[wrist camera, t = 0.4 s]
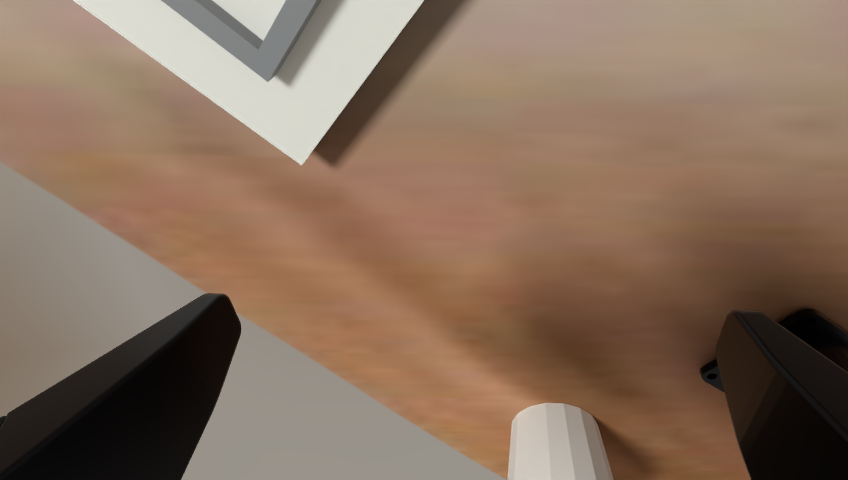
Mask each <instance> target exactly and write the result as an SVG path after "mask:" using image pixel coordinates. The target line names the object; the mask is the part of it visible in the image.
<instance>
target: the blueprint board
mask: <svg viewBox="0 0 848 480" xmlns="http://www.w3.org/2000/svg"><path fill="white" fill-rule="evenodd" d="M73 1H75V2H76V3H77V4H79V5H80V6H82V7H83V8H84V9H86V10H87V11H89V12H90V13H91V14H93V15H94V16H95V17H97V18H98V19H100V20H101V21H102V22H104V23H105V24H107V25H108V26H109V27H111V28H112V29H113V30H115V31H116V32H118V33H119V34H120V35H122V36H123V37H125V38H126V39H127V40H129V41H130V42H131V43H133V44H134V45H136V46H137V47H138V48H140V49H141V50H143V51H144V52H145V53H147V54H148V55H149V56H151V57H152V58H154V59H155V60H156V61H158V62H159V63H161V64H162V65H163V66H165V67H166V68H167V69H169V70H170V71H172V72H173V73H174V74H176V75H177V76H179V77H180V78H181V79H183V80H184V81H185V82H187V83H188V84H190V85H191V86H192V87H194V88H195V89H197V90H198V91H199V92H201V93H202V94H203V95H205V96H206V97H208V98H209V99H210V100H212V101H213V102H215V103H216V104H217V105H219V106H220V107H221V108H223V109H224V110H226V111H227V112H228V113H230V114H231V115H233V116H234V117H235V118H237V119H238V120H239V121H241V122H242V123H244V124H245V125H246V126H248V127H249V128H251V129H252V130H253V131H255V132H256V133H257V134H259V135H260V136H262V137H263V138H264V139H266V140H267V141H268V142H270V143H271V144H273V145H274V146H275V147H277V148H278V149H280V150H281V151H282V152H284V153H285V154H286V155H288V156H289V157H291V158H292V159H293V160H295V161H296V162H298V163H299V164H300V165H302V164H303V163H304V162H305V160H306V159H307V158H308V156H309V155H310V154H311V152H312V151H313V150H314V148H315V147H316V146H317V144H318V143H319V141H320V140H321V139H322V137H323V136H324V135H325V133H326V132H327V131H328V129H329V128H330V127H331V125H332V124H333V123H334V121H335V120H336V119H337V117H338V116H339V115H340V113H341V112H342V110H343V109H344V108H345V106H346V105H347V104H348V102H349V101H350V100H351V98H352V97H353V96H354V94H355V93H356V92H357V90H358V89H359V88H360V86H361V85H362V83H363V82H364V81H365V79H366V78H367V77H368V75H369V74H370V73H371V71H372V70H373V69H374V67H375V66H376V65H377V63H378V62H379V61H380V59H381V58H382V57H383V55H384V54H385V52H386V51H387V50H388V48H389V47H390V46H391V44H392V43H393V42H394V40H395V39H396V38H397V36H398V35H399V34H400V32H401V31H402V30H403V28H404V27H405V25H406V24H407V23H408V21H409V20H410V19H411V17H412V16H413V15H414V13H415V12H416V11H417V9H418V8H419V7H420V5H421V4H422V3H423V1H424V0H73Z"/></svg>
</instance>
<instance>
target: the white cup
mask: <svg viewBox="0 0 848 480" xmlns="http://www.w3.org/2000/svg"><path fill="white" fill-rule="evenodd" d="M508 480H614V479H613V476H612V472H611V469H610V465H609V462H608V458H607V455H606V452H605V448H604V445H603V441H602V438H601V434H600V431H599V427H598V424H597V423H596V421H595V419H594V418H593V416H592V415H591V414H589V413H588V412H586V411H584V410H583V409H581V408H579V407H575V406H572V405H568V404H564V403H543V404H539V405H534V406H530V407H528V408H526V409H524V410H523V411H521V412H519V413H518V414H517V415H516V417H515V418H514V420H513V421H512V429H511V442H510V455H509V467H508Z"/></svg>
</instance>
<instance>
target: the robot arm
mask: <svg viewBox="0 0 848 480" xmlns="http://www.w3.org/2000/svg"><path fill="white" fill-rule="evenodd" d="M240 334H241V323H240V321H239V318H238V316H237V314H236V312H235V309H234V307H233V305H232V303H231V301H230V299H229V297H228V296H227V295H225V294H214V293H208V294H204V295H202V296H200V297H198V298H197V299H195V300H193V301H192V302H191V303H188V304H187V305H185V306H184V307H182V308H180V309H179V310H177V311H175V312H174V313H172V314H170V315H169V316H167V317H165V318H164V319H162V320H160V321H159V322H157V323H156V324H154V325H152V326H151V327H149V328H147V329H146V330H144V331H142V332H141V333H139V334H137V335H136V336H134V337H133V338H131V339H129V340H128V341H126V342H124V343H123V344H121V345H119V346H118V347H116V348H114V349H113V350H111V351H109V352H108V353H106V354H104V355H103V356H101V357H100V358H98V359H96V360H95V361H93V362H91V363H90V364H88V365H86V366H85V367H83V368H81V369H80V370H78V371H76V372H75V373H73V374H72V375H70V376H68V377H67V378H65V379H63V380H62V381H60V382H58V383H57V384H55V385H53V386H52V387H50V388H48V389H47V390H45V391H44V392H42V393H40V394H39V395H37V396H35V397H34V398H32V399H30V400H29V401H27V402H25V403H24V404H22V405H20V406H19V407H17V408H16V409H14V410H12V411H11V412H9V413H8V414H7V416H2V417H0V480H181V478H182V476H183V474H184V472H185V470H186V468H187V465H188V464H189V461H190V459H191V457H192V455H193V453H194V451H195V449H196V446H197V444H198V442H199V440H200V438H201V436H202V434H203V431H204V429H205V427H206V425H207V423H208V421H209V419H210V416H211V414H212V412H213V410H214V407H215V405H216V402H217V400H218V397H219V395H220V392H221V389H222V386H223V383H224V381H225V378H226V375H227V372H228V369H229V366H230V364H231V361H232V357H233V355H234V352H235V349H236V346H237V344H238V341H239V338H240ZM700 374H701V377H702V379H703V380H704V381H706V382H707V383H709V384H711V385H713V386H714V387H716V388H718V389H720V390H721V391H723V392H725V395H726V399H727V403H728V407H729V411H730V415H731V419H732V423H733V427H734V431H735V434H736V438H737V441H738V445H739V448H740V451H741V453H742V456H743V459H744V462H745V465H746V467H747V470H748V473H749V475H750V478H751V480H848V331H846V330H845V329H843V328H842V327H840V326H839V325H837V324H836V323H834V322H833V321H831V320H830V319H828V318H827V317H825V316H824V315H823V314H821V313H820V312H818V311H817V310H814V309H803V310H801V311H799V312H797V313H795V314H793V315H792V316H790V317H788V318H786V319H785V320H783V321H781V322H780V323H777V322H775V321H774V320H773V319H771V318H770V317H768V316H767V315H766V314H764V313H762V312H760V311H754V310H733V311H731V312H730V313H729V314H728V315H727V317H726V320H725V323H724V325H723V328H722V330H721V333H720V336H719V338H718V341H717V344H716V360H714V361H712V362H710V363H709V364H707V365H705V366H704V367H702V368H701V369H700Z"/></svg>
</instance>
